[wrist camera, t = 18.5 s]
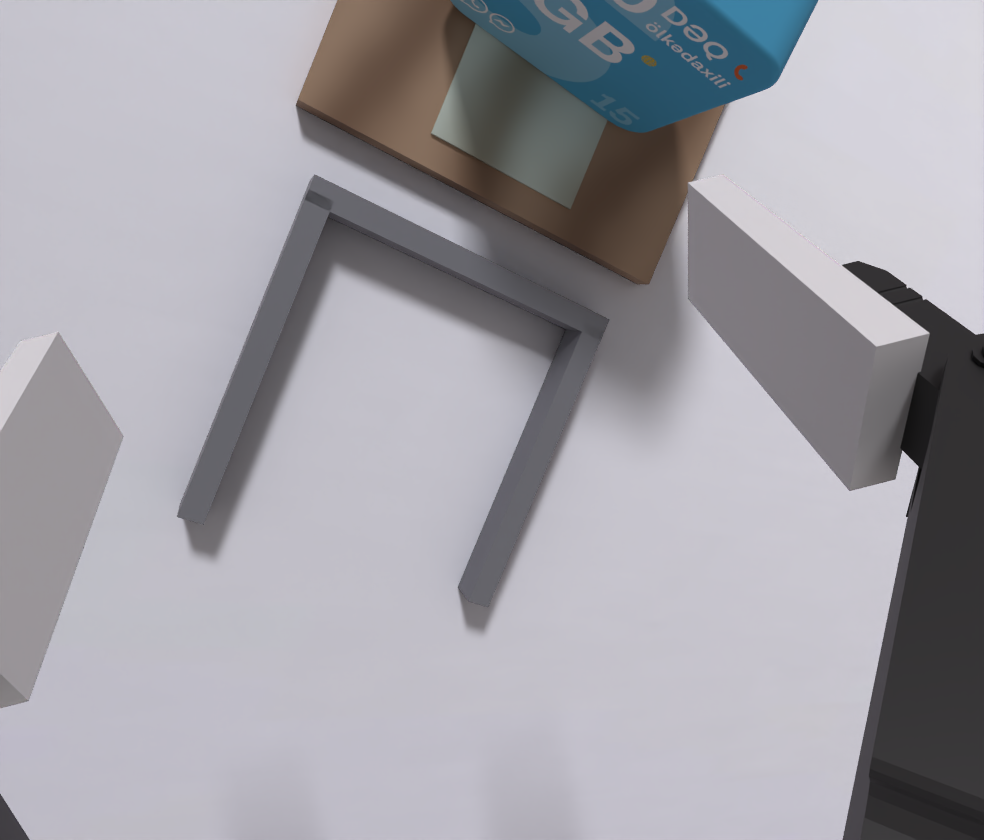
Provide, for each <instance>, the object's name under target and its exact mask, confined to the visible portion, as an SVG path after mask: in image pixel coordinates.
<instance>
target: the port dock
mask: <svg viewBox="0 0 984 840" xmlns="http://www.w3.org/2000/svg"><path fill="white" fill-rule="evenodd" d="M724 105H725V104H724ZM724 105H721V106H718V107H716V108H713V109H710V110H707V111H704V112H702V113H699V114H696V115H693V116H691V117H688V118H685V119H682V120H679V121H677V122H674V123H671V124H668V125H666V126H663V127H660V128H657V129H654V130H652V131H649V132H644V133H638V132H632V131H628V130H625V129H623V128H620V127H618V126H616V125H615V124H613V123H611V122H610V121H608V120H607V119H606V118H604V117H603V116H602V115H600V114H599V113H598V112H596V111H595V110H593V109H592V108H591V107H589V106H588V105H587V104H585V103H584V102H583V101H581V100H580V99H578V98H577V97H576V96H574V95H573V94H572V93H570V92H569V91H567V90H566V89H565V88H563V87H562V86H561V85H559V84H558V83H557V82H555V81H554V80H552V79H551V78H550V77H548V76H547V75H546V74H544V73H543V72H542V71H540V70H539V69H537V68H536V67H535V66H533V65H532V64H531V63H529V62H528V61H527V60H525V59H524V58H522V57H521V56H520V55H518V54H517V53H516V52H514V51H513V50H511V49H510V48H509V47H507V46H506V45H505V44H503V43H502V42H501V41H499V40H498V39H496V38H495V37H494V36H492V35H491V34H490V33H488V32H487V31H486V30H484V29H483V28H481V27H480V26H479V25H477V24H476V23H475V22H473V21H472V20H471V19H469V18H468V17H466V16H465V15H464V14H463V13H461V12H460V11H459V10H458V9H457V8H456V7H455V6H454V5H453V3H452V2H451V1H450V0H337V3H336V5H335V8H334V10H333V13H332V15H331V18H330V20H329V23H328V25H327V28H326V30H325V33H324V35H323V38H322V40H321V43H320V46H319V48H318V51H317V53H316V56H315V58H314V61H313V63H312V66H311V68H310V71H309V73H308V76H307V78H306V81H305V83H304V86H303V88H302V91H301V93H300V96H299V98H298V101H297V103H296V106H298V107H300V108H302V109H304V110H305V111H307V112H309V113H311V114H313V115H315V116H317V117H319V118H321V119H323V120H325V121H327V122H328V123H330V124H332V125H334V126H336V127H338V128H340V129H342V130H344V131H346V132H348V133H349V134H351V135H353V136H355V137H357V138H359V139H361V140H363V141H365V142H367V143H369V144H370V145H372V146H374V147H376V148H378V149H380V150H382V151H384V152H386V153H388V154H390V155H392V156H393V157H395V158H397V159H399V160H401V161H403V162H405V163H407V164H409V165H411V166H413V167H414V168H416V169H418V170H420V171H422V172H424V173H426V174H428V175H430V176H432V177H434V178H435V179H437V180H439V181H441V182H443V183H445V184H447V185H449V186H451V187H453V188H455V189H457V190H458V191H460V192H462V193H464V194H466V195H468V196H470V197H472V198H474V199H476V200H478V201H479V202H481V203H483V204H485V205H487V206H489V207H491V208H493V209H495V210H497V211H499V212H500V213H502V214H504V215H506V216H508V217H510V218H512V219H514V220H516V221H518V222H520V223H522V224H523V225H525V226H527V227H529V228H531V229H533V230H535V231H537V232H539V233H541V234H543V235H544V236H546V237H548V238H550V239H552V240H554V241H556V242H558V243H560V244H562V245H564V246H565V247H567V248H569V249H571V250H573V251H575V252H577V253H579V254H581V255H583V256H585V257H587V258H588V259H590V260H592V261H594V262H596V263H598V264H600V265H602V266H604V267H606V268H608V269H609V270H611V271H613V272H615V273H617V274H619V275H621V276H623V277H625V278H627V279H629V280H630V281H632V282H634V283H636V284H649V283H650V280H651V278H652V276H653V273H654V271H655V269H656V266H657V264H658V261H659V259H660V257H661V254H662V252H663V250H664V247H665V245H666V243H667V240H668V238H669V235H670V233H671V231H672V228H673V226H674V224H675V221H676V219H677V217H678V214H679V212H680V209H681V207H682V205H683V202H684V200H685V198H686V195H687V193H688V182H692V181H693V179H694V176H695V174H696V172H697V169H698V167H699V165H700V162H701V160H702V157H703V155H704V153H705V150H706V148H707V146H708V143H709V141H710V138H711V136H712V134H713V131H714V129H715V127H716V124H717V122H718V120H719V117H720V115H721V112H722V110H723V108H724Z"/></svg>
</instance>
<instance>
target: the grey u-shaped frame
mask: <svg viewBox="0 0 984 840" xmlns="http://www.w3.org/2000/svg"><path fill="white" fill-rule="evenodd" d="M327 217H329V218H332V219H334V220H336V221H338V222H340V223H342V224H344V225H346V226H348V227H351V228H353V229H355V230H357V231H359V232H361V233H363V234H365V235H368V236H370V237H372V238H374V239H376V240H378V241H380V242H382V243H384V244H387V245H389V246H391V247H393V248H395V249H397V250H399V251H401V252H403V253H406V254H408V255H410V256H412V257H414V258H416V259H418V260H420V261H423V262H425V263H427V264H429V265H431V266H433V267H435V268H437V269H439V270H442V271H444V272H446V273H448V274H450V275H452V276H454V277H456V278H458V279H461V280H463V281H465V282H467V283H469V284H471V285H473V286H475V287H477V288H480V289H482V290H484V291H486V292H488V293H490V294H492V295H494V296H497V297H499V298H501V299H503V300H505V301H507V302H509V303H511V304H513V305H516V306H518V307H520V308H522V309H524V310H526V311H528V312H530V313H532V314H535V315H537V316H539V317H541V318H543V319H545V320H547V321H549V322H552V323H554V324H556V325H558V326H560V327H562V328H564V329H566V330H565V333H564V335H563V338H562V340H561V342H560V345H559V347H558V350H557V352H556V354H555V357H554V359H553V361H552V364H551V366H550V369H549V371H548V373H547V376H546V378H545V381H544V383H543V385H542V388H541V390H540V392H539V395H538V397H537V400H536V402H535V404H534V407H533V409H532V412H531V414H530V416H529V419H528V421H527V423H526V426H525V428H524V431H523V433H522V435H521V438H520V440H519V443H518V445H517V447H516V450H515V452H514V454H513V457H512V459H511V462H510V464H509V466H508V469H507V471H506V474H505V476H504V478H503V481H502V483H501V485H500V488H499V490H498V493H497V495H496V497H495V500H494V502H493V505H492V507H491V509H490V512H489V514H488V516H487V519H486V521H485V524H484V526H483V528H482V531H481V533H480V536H479V538H478V540H477V543H476V545H475V547H474V550H473V552H472V555H471V557H470V559H469V562H468V564H467V567H466V569H465V571H464V574H463V576H462V578H461V581H460V583H459V586H458V588H459V589H460V591H461V592H462V593H463V595H464V596H465V597H466V599H467V600H468V601H469V602H472V603H475V604H479V605H482V606H486V607H488V606H489V604H490V602H491V599H492V597H493V594H494V592H495V590H496V587H497V585H498V583H499V580H500V578H501V575H502V573H503V571H504V568H505V566H506V564H507V561H508V559H509V556H510V554H511V552H512V549H513V547H514V545H515V542H516V540H517V537H518V535H519V533H520V530H521V528H522V526H523V523H524V521H525V518H526V516H527V514H528V511H529V509H530V507H531V504H532V502H533V499H534V497H535V495H536V492H537V490H538V488H539V485H540V483H541V481H542V478H543V476H544V473H545V471H546V469H547V466H548V464H549V462H550V459H551V457H552V454H553V452H554V450H555V447H556V445H557V443H558V440H559V438H560V435H561V433H562V431H563V428H564V426H565V424H566V421H567V419H568V416H569V414H570V412H571V409H572V407H573V405H574V402H575V400H576V397H577V395H578V393H579V390H580V388H581V386H582V383H583V381H584V378H585V376H586V374H587V371H588V369H589V367H590V364H591V362H592V359H593V357H594V355H595V352H596V350H597V348H598V345H599V343H600V341H601V338H602V336H603V333H604V331H605V329H606V326H607V324H608V322H609V319H607V318H605V317H603V316H601V315H599V314H597V313H595V312H593V311H591V310H589V309H587V308H585V307H583V306H581V305H579V304H577V303H575V302H573V301H571V300H569V299H567V298H565V297H563V296H561V295H559V294H557V293H555V292H553V291H551V290H548V289H546V288H544V287H542V286H540V285H538V284H536V283H534V282H532V281H530V280H528V279H526V278H524V277H522V276H520V275H518V274H516V273H514V272H512V271H510V270H508V269H506V268H504V267H502V266H500V265H498V264H496V263H494V262H492V261H490V260H487V259H485V258H483V257H481V256H479V255H477V254H475V253H473V252H471V251H469V250H467V249H465V248H463V247H461V246H459V245H457V244H455V243H453V242H451V241H449V240H447V239H445V238H443V237H441V236H439V235H437V234H435V233H433V232H431V231H429V230H426V229H424V228H422V227H420V226H418V225H416V224H414V223H412V222H410V221H408V220H406V219H404V218H402V217H400V216H398V215H396V214H394V213H392V212H390V211H388V210H386V209H384V208H382V207H380V206H378V205H376V204H374V203H372V202H370V201H368V200H365V199H363V198H361V197H359V196H357V195H355V194H353V193H351V192H349V191H347V190H345V189H343V188H341V187H339V186H337V185H335V184H333V183H331V182H329V181H327V180H325V179H323V178H321V177H319V176H317V175H314V176H313V177H312V179H311V180H310V182H309V184H308V187H307V189H306V192H305V194H304V197H303V199H302V202H301V204H300V207H299V209H298V212H297V214H296V217H295V219H294V222H293V224H292V227H291V229H290V232H289V234H288V237H287V239H286V242H285V244H284V247H283V249H282V252H281V254H280V257H279V259H278V262H277V264H276V267H275V269H274V272H273V274H272V277H271V279H270V282H269V284H268V286H267V289H266V291H265V294H264V296H263V299H262V301H261V304H260V306H259V309H258V311H257V314H256V316H255V319H254V321H253V324H252V326H251V329H250V331H249V334H248V336H247V339H246V341H245V344H244V346H243V349H242V351H241V354H240V356H239V359H238V361H237V364H236V366H235V369H234V371H233V374H232V376H231V379H230V381H229V384H228V386H227V389H226V391H225V393H224V396H223V398H222V401H221V403H220V406H219V408H218V411H217V413H216V416H215V418H214V421H213V423H212V426H211V428H210V431H209V433H208V436H207V438H206V441H205V443H204V446H203V448H202V451H201V453H200V456H199V458H198V461H197V463H196V466H195V468H194V471H193V473H192V476H191V478H190V481H189V483H188V486H187V488H186V491H185V493H184V496H183V498H182V500H181V503H180V506H179V510H178V515H177V517H179V518H182V519H186V520H189V521H193V522H196V523H200V524H203V525H204V522H205V520H206V517H207V515H208V512H209V510H210V507H211V505H212V502H213V500H214V497H215V495H216V492H217V490H218V487H219V485H220V482H221V480H222V478H223V475H224V473H225V470H226V468H227V465H228V463H229V460H230V458H231V455H232V453H233V450H234V448H235V445H236V443H237V440H238V438H239V435H240V433H241V430H242V428H243V425H244V423H245V421H246V418H247V416H248V413H249V411H250V408H251V406H252V403H253V401H254V398H255V396H256V393H257V391H258V388H259V386H260V383H261V381H262V378H263V376H264V373H265V371H266V368H267V366H268V364H269V361H270V359H271V356H272V354H273V351H274V349H275V346H276V344H277V341H278V339H279V336H280V334H281V331H282V329H283V326H284V324H285V321H286V319H287V316H288V314H289V312H290V309H291V307H292V304H293V302H294V299H295V297H296V294H297V292H298V289H299V287H300V284H301V282H302V279H303V277H304V274H305V272H306V269H307V267H308V264H309V262H310V259H311V257H312V255H313V252H314V250H315V247H316V245H317V242H318V240H319V237H320V235H321V232H322V230H323V227H324V225H325V222H326V220H327Z"/></svg>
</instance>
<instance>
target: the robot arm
mask: <svg viewBox="0 0 984 840" xmlns="http://www.w3.org/2000/svg"><path fill="white" fill-rule="evenodd" d="M688 299H689V300H690V302H691V303H692V304H693V305H694V306H695V308H696V309H697V310H698V311H699V312H700V313H701V315H702V316H703V317H704V318H705V319H706V321H707V322H708V323H709V324H710V325H711V327H712V328H713V329H714V330H715V331H716V333H717V334H718V335H719V336H720V337H721V338H722V340H723V341H724V342H725V343H726V344H727V346H728V347H729V348H730V349H731V350H732V352H733V353H734V354H735V355H736V356H737V358H738V359H739V360H740V361H741V362H742V363H743V365H744V366H745V367H746V368H747V369H748V371H749V372H750V373H751V374H752V375H753V377H754V378H755V379H756V380H757V381H758V383H759V384H760V385H761V386H762V387H763V389H764V390H765V391H766V392H767V393H768V394H769V396H770V397H771V398H772V399H773V400H774V402H775V403H776V404H777V405H778V406H779V408H780V409H781V410H782V411H783V412H784V414H785V415H786V416H787V417H788V418H789V419H790V421H791V422H792V423H793V424H794V425H795V427H796V428H797V429H798V430H799V431H800V433H801V434H802V435H803V436H804V437H805V439H806V440H807V441H808V442H809V443H810V444H811V446H812V447H813V448H814V449H815V450H816V452H817V453H818V454H819V455H820V456H821V458H822V459H823V460H824V461H825V462H826V464H827V465H828V466H829V467H830V468H831V469H832V471H833V472H834V473H835V474H836V475H837V477H838V478H839V479H840V480H841V481H842V483H843V484H844V485H845V486H846V487H847V489H848V490H849V491H852V490H855V489H859V488H863V487H867V486H871V485H875V484H879V483H883V482H887V481H891V480H895V479H896V474H897V470H898V466H899V462H900V457H901V453H902V450H903V451H904V452H905V453H906V454H907V455H908V456H909V457H910V458H911V459H912V460H913V461H914V462H915V463H916V464H917V465H918V466H919V468H918V472H917V476H916V480H915V484H914V487H913V491H912V495H911V499H910V503H909V507H908V511H907V514H906V517H908V519H907V524H906V528H905V533H904V538H903V543H902V548H901V553H900V558H899V563H898V568H897V573H896V578H895V583H894V588H893V593H892V598H891V603H890V608H889V613H888V618H887V623H886V628H885V632H884V637H883V642H882V647H881V652H880V657H879V662H878V667H877V672H876V677H875V682H874V687H873V692H872V697H871V702H870V707H869V712H868V717H867V722H866V727H865V732H864V737H863V741H862V746H861V751H860V756H859V761H858V766H857V771H856V776H855V781H854V786H853V791H852V796H851V801H850V806H849V811H848V816H847V821H846V826H845V831H844V836H843V840H984V334H978V335H975V334H974V333H972V332H971V331H970V330H968V329H967V328H965V327H964V326H963V325H961V324H960V323H959V322H957V321H956V320H954V319H953V318H952V317H950V316H949V315H947V314H946V313H945V312H943V311H942V310H940V309H939V308H938V307H936V306H935V305H933V304H932V303H931V302H929V301H928V300H927V299H926V300H923V299H922V296H921V295H920V294H918V293H917V292H915V291H914V290H913V289H911V288H907V287H906V284H904V283H903V282H901V281H900V280H899V279H897V278H896V277H894V276H893V275H892V274H890V273H889V272H888V271H886V270H883V269H880V268H877V267H874V266H871V265H868V264H865V263H862V262H860V261H856V262H852V263H848V264H844V265H840V264H839V263H838V262H837V261H835V260H834V259H833V258H831V257H830V256H829V255H828V254H826V253H825V252H824V251H822V250H821V249H820V248H818V247H817V246H816V245H815V244H813V243H812V242H811V241H809V240H808V239H807V238H805V237H804V236H803V235H802V234H800V233H799V232H798V231H796V230H795V229H794V228H792V227H791V226H790V225H789V224H787V223H786V222H785V221H783V220H782V219H781V218H780V217H778V216H777V215H776V214H774V213H773V212H772V211H770V210H769V209H768V208H767V207H765V206H764V205H763V204H761V203H760V202H759V201H757V200H756V199H755V198H754V197H752V196H751V195H750V194H748V193H747V192H746V191H744V190H743V189H742V188H741V187H739V186H738V185H737V184H735V183H734V182H733V181H732V180H730V179H729V178H728V177H726V176H725V175H724V174H722V175H717V176H713V177H709V178H705V179H700V180H696V181H692V182H688ZM122 439H123V434H122V433H121V431H120V429H119V428H118V426H117V425H116V423H115V422H114V420H113V418H112V417H111V415H110V414H109V412H108V410H107V409H106V407H105V406H104V404H103V402H102V401H101V399H100V398H99V396H98V394H97V393H96V391H95V390H94V388H93V386H92V385H91V383H90V382H89V380H88V378H87V377H86V375H85V374H84V372H83V370H82V369H81V367H80V366H79V364H78V362H77V361H76V359H75V358H74V356H73V354H72V353H71V351H70V350H69V348H68V346H67V345H66V343H65V342H64V340H63V338H62V337H61V335H60V334H59V332H55V333H51V334H47V335H42V336H38V337H34V338H30V339H25V340H21V341H20V342H19V343H18V345H17V346H16V348H15V350H14V351H13V353H12V354H11V356H10V357H9V359H8V360H7V362H6V363H5V365H4V366H3V368H2V370H1V371H0V708H3V707H7V706H11V705H15V704H19V703H23V702H27V701H29V699H30V696H31V693H32V690H33V687H34V685H35V682H36V679H37V676H38V673H39V671H40V668H41V665H42V662H43V659H44V657H45V654H46V651H47V648H48V646H49V643H50V640H51V637H52V634H53V632H54V629H55V626H56V623H57V620H58V618H59V615H60V612H61V609H62V606H63V604H64V601H65V598H66V595H67V593H68V590H69V587H70V584H71V581H72V579H73V576H74V573H75V570H76V567H77V565H78V562H79V559H80V556H81V553H82V551H83V548H84V545H85V542H86V540H87V537H88V534H89V531H90V528H91V526H92V523H93V520H94V517H95V514H96V512H97V509H98V506H99V503H100V500H101V498H102V495H103V492H104V489H105V487H106V484H107V481H108V478H109V475H110V473H111V470H112V467H113V464H114V461H115V459H116V456H117V453H118V450H119V447H120V445H121V442H122ZM0 840H29V838H28V836H27V835H26V833H25V832H24V830H23V829H22V827H21V826H20V824H19V822H18V821H17V819H16V818H15V816H14V815H13V813H12V811H11V810H10V808H9V807H8V805H7V804H6V802H5V801H4V799H3V797H2V796H1V794H0Z"/></svg>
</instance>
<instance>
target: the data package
mask: <svg viewBox="0 0 984 840" xmlns="http://www.w3.org/2000/svg"><path fill="white" fill-rule="evenodd" d="M450 1H451V2H452V3H453V5H454V6H455V7H456V8H457V9H458V10H459V11H460V12H461V13H463V14H464V15H465V16H466V17H468V18H469V19H471V20H472V21H473V22H475V23H476V24H477V25H479V26H480V27H481V28H483V29H484V30H486V31H487V32H488V33H490V34H491V35H492V36H494V37H495V38H496V39H498V40H499V41H501V42H502V43H503V44H505V45H506V46H507V47H509V48H510V49H511V50H513V51H514V52H516V53H517V54H518V55H520V56H521V57H522V58H524V59H525V60H527V61H528V62H529V63H531V64H532V65H533V66H535V67H536V68H537V69H539V70H540V71H542V72H543V73H544V74H546V75H547V76H548V77H550V78H551V79H552V80H554V81H555V82H557V83H558V84H559V85H561V86H562V87H563V88H565V89H566V90H567V91H569V92H570V93H572V94H573V95H574V96H576V97H577V98H578V99H580V100H581V101H583V102H584V103H585V104H587V105H588V106H589V107H591V108H592V109H593V110H595V111H596V112H598V113H599V114H600V115H602V116H603V117H604V118H606V119H607V120H608V121H610V122H611V123H613V124H615V125H616V126H618V127H620V128H623V129H625V130H628V131H632V132H638V133H644V132H649V131H652V130H654V129H657V128H660V127H663V126H666V125H668V124H671V123H674V122H677V121H679V120H682V119H685V118H688V117H691V116H693V115H696V114H699V113H702V112H704V111H707V110H710V109H713V108H716V107H718V106H721V105H724V104H727V103H729V102H732V101H735V100H738V99H741V98H743V97H746V96H749V95H752V94H754V93H757V92H760V91H763V90H765V89H768V88H770V87H771V86H773V85H774V84H775V83H776V82H777V80H778V79H779V77H780V75H781V73H782V71H783V69H784V67H785V65H786V63H787V61H788V59H789V57H790V55H791V53H792V51H793V49H794V47H795V45H796V43H797V41H798V39H799V37H800V36H801V34H802V32H803V30H804V28H805V26H806V24H807V22H808V20H809V18H810V16H811V14H812V12H813V10H814V8H815V6H816V4H817V2H818V0H450Z"/></svg>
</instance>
